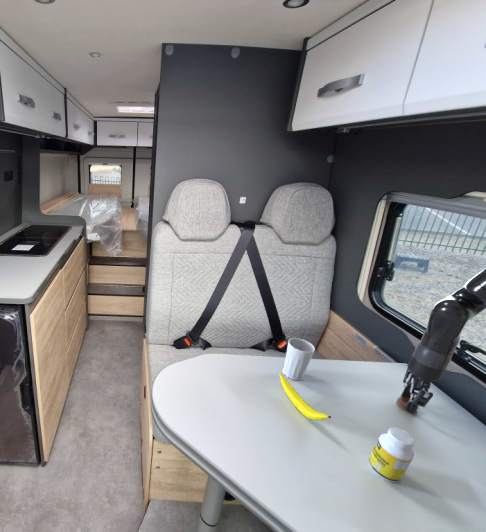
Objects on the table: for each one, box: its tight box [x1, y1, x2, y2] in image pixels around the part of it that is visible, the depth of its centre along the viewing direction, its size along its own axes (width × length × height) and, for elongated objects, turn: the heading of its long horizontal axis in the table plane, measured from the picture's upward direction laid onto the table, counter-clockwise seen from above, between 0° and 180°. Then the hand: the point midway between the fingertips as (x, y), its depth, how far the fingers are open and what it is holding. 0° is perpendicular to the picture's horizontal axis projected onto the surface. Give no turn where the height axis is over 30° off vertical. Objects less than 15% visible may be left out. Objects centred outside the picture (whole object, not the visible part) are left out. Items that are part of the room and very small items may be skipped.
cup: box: [282, 337, 316, 381], centre depth 104 cm, size 8×8×12 cm
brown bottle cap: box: [395, 395, 420, 414], centre depth 95 cm, size 5×5×2 cm
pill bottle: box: [368, 426, 416, 483], centre depth 73 cm, size 6×6×12 cm
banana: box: [279, 372, 332, 421], centre depth 91 cm, size 3×19×6 cm, turn 15°
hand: (407, 404), depth 95 cm, fingers closed on brown bottle cap, 5 cm apart
